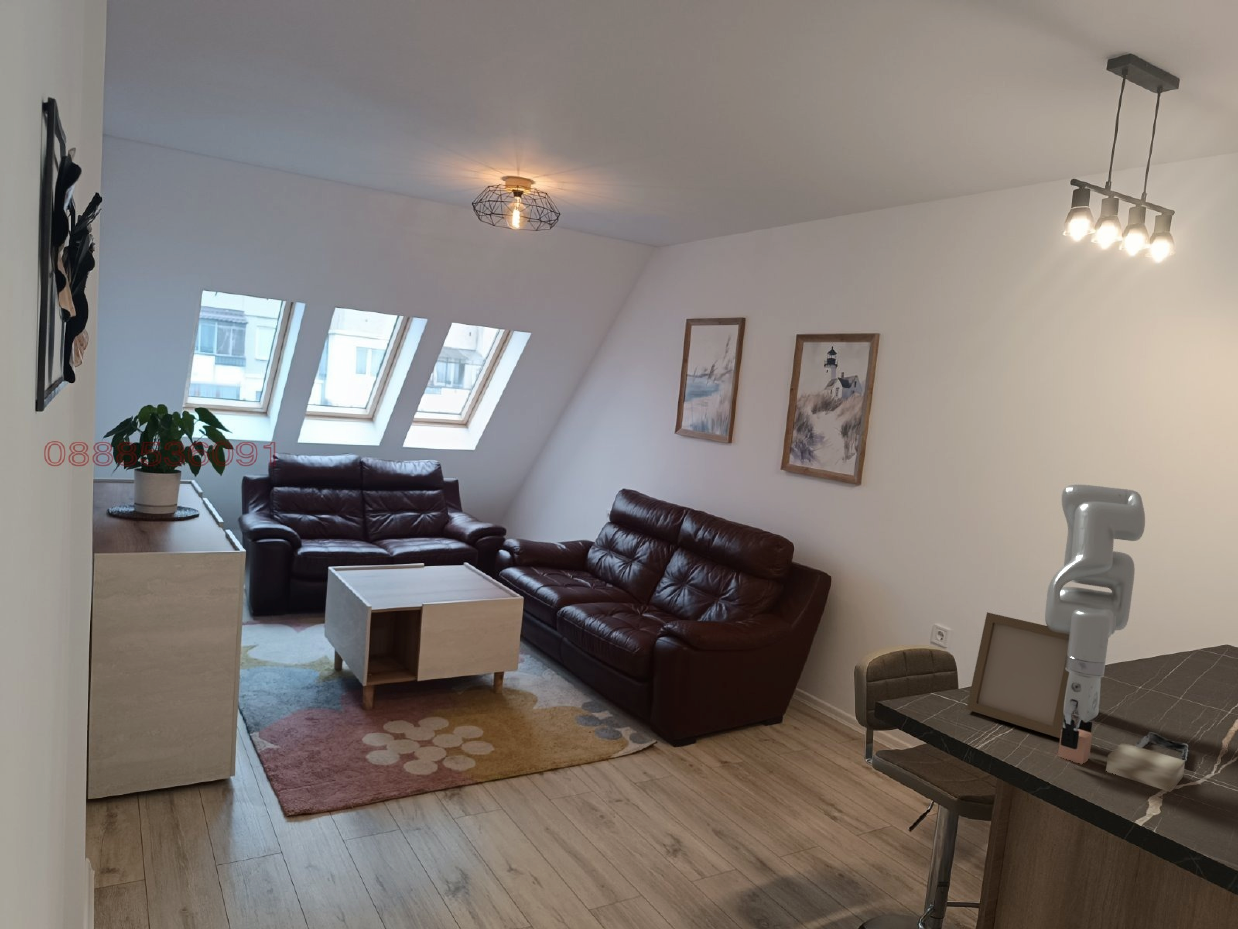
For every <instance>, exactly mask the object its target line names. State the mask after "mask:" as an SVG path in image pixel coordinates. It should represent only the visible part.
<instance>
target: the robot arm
mask: <svg viewBox="0 0 1238 929" xmlns="http://www.w3.org/2000/svg"><path fill="white" fill-rule="evenodd" d="M1061 505H1062V506H1061V507H1062V511H1063V514H1064V518H1065V520H1066V524H1067V536H1066V544H1065V552H1064V553H1065V554H1064V559H1063V560H1064V561H1063V566H1062V567H1061V568H1060V569H1059V570H1058V571H1057V572H1056V573H1055V574H1054V575H1053V577H1051V580H1050V582H1049V585H1048V588H1047V591H1046V592H1047V593H1046V600H1045V602H1046V603H1045V610H1044V611H1045V613H1044V620H1045V624H1046V625H1045V626H1047V627H1048V628H1049V629H1050V630H1052V631H1054V632H1059V633H1064V634H1069V642H1068V650H1067V658H1066V667H1065V670H1067V671H1068V672H1069V676H1068V681H1067V687H1066V693H1065V700H1064V710H1063V714H1064V715H1065V719H1064V723H1063V729H1062V737H1061V745H1062V746H1065V747H1069V748H1072V749H1077V746H1078V738H1079V731H1078V729H1080V730H1084V731H1087V732H1090V733H1092V731H1093V720H1094V719H1095V718H1096V717H1097V716H1098V715H1099V710H1100V698H1101V683H1102V681H1101V680H1102V678H1104V677H1105V668H1106V660H1107V653H1108V652H1107V651H1108V645H1109V638H1111V636H1112V635H1114V634H1115V631H1122V630H1124V629H1125V628H1126V627H1127V625H1128V622H1129V618H1130V612H1131V611H1130V610H1131V603H1132V598H1133V596H1132V595H1133V589H1134V583H1135V582H1134V581H1135V570H1136V569H1135V562H1134V560H1133V557H1132V556H1130V554H1127V553H1125V552H1123V551H1122V552H1121V551H1114V540H1120V541H1121V540H1122V541H1129V542H1135V541H1139V540H1140V539H1141V538H1142V537H1143V535H1144V531H1145V527H1146V516H1145V515H1146V514H1145V508H1144V503H1143V500H1142V496H1141V494H1140V492H1138V491H1135V490H1133V489H1127V488H1118V487H1117V488H1116V487H1108V486H1100V485H1090V484H1071V485H1067V486H1066V487H1064V488H1063V490H1062V493H1061ZM1070 582H1072V583H1076V584H1080V585H1084V586H1085V585H1086V586H1093V587H1099V588H1106V589H1110V591H1111V592H1110V591H1109V592H1108V591H1102V590H1096V589H1089V588H1083V587H1075V586H1065V585H1067V583H1070Z"/></svg>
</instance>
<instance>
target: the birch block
mask: <svg viewBox="0 0 1238 929" xmlns="http://www.w3.org/2000/svg"><path fill="white" fill-rule="evenodd" d="M1185 764H1186V761H1185V760H1182V758H1177V757H1174V756H1170V755H1168V754H1163V753H1161V752H1158V751H1153V750H1151V749H1147V748H1144V747H1143V748H1140V747H1137V746H1136V745H1132V744H1130V743H1127V742H1123V741H1122V742H1121V743H1120V744H1119V745H1117V747H1116V748H1114V749H1113V750H1112V751H1111V752H1110V753H1109V754H1108V755H1107V760H1106V768H1105V772H1106V771H1107V772H1106V773H1109V774H1112V773H1113V775H1115V774H1116V775H1115V776H1119V777H1121V778H1125V779H1128V780H1132V781H1134V782H1138V783H1141V784H1144V785H1147V786H1151V787H1153V788H1157V789H1160V790H1163V791H1166V792H1168V793H1169V792H1170V793H1171V792H1172V791H1173V790H1174V789H1175V787H1176V786H1177V785H1178V784H1179V782H1180V781H1181V780H1182V779H1183V778H1184V774H1185V773H1184V771H1185Z"/></svg>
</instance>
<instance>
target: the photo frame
mask: <svg viewBox="0 0 1238 929" xmlns="http://www.w3.org/2000/svg"><path fill="white" fill-rule="evenodd" d="M1068 642H1069V634H1064V633H1059V632H1054V631H1052V630H1050V629H1049V628H1048V627H1047V625H1045V624H1040V623H1037V622H1031V621H1027V620H1022V619H1017V618H1014V617H1010V616H1009V617H1008V616H1005V615H1000V614H996V613H991V612H986V615H985V620H984V624H983V629H982V634H981V638H980V645H979V647H978V648H979V649H978V653H977V657H976V663H975V668H974V672H973V677H972V682H971V686H970V691H969V696H968V700H967V706H966V710H968V711H970V712H974V713H977V714H980V715H984V716H987V717H990V718H994V719H996V720H1000V721H1002V722H1006V723H1008V724H1009V723H1010V724H1013V725H1016V726H1019V727H1022V728H1025V729H1029V730H1033V731H1035V732H1039V733H1042V734H1045V735H1049V736H1051V737H1054V738H1057V739H1060V735H1061V730H1062V729H1063V723H1064V719H1065V715H1064V714H1063V710H1064V700H1065V693H1066V687H1067V681H1068V676H1069V672H1068V671H1067V670H1065V667H1066V658H1067V650H1068Z"/></svg>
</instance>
